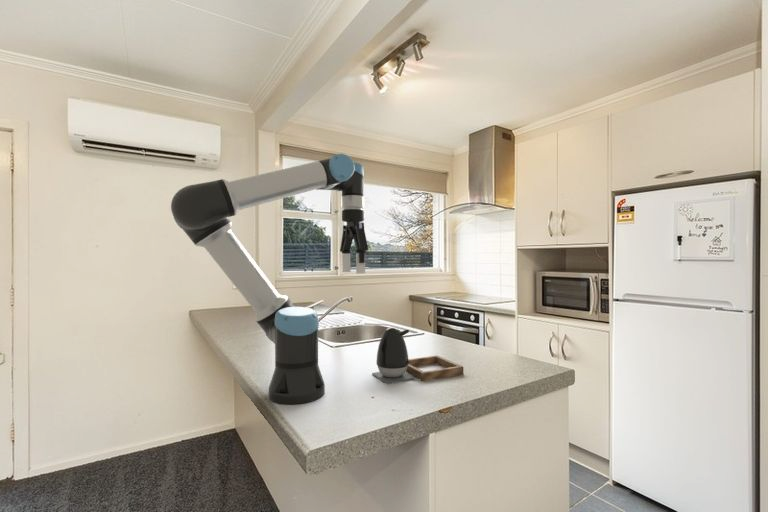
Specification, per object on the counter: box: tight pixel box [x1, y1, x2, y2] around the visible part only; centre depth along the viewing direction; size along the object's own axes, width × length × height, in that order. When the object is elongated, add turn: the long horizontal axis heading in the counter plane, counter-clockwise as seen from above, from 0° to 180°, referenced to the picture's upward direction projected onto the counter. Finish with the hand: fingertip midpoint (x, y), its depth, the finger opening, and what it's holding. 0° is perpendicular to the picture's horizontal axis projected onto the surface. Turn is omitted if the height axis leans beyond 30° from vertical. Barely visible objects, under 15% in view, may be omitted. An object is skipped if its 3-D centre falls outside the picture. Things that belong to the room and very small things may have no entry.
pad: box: [371, 371, 416, 385], centre depth 118 cm, size 10×10×1 cm
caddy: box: [405, 355, 464, 382], centre depth 123 cm, size 15×15×2 cm
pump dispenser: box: [375, 326, 410, 378], centre depth 118 cm, size 10×10×15 cm
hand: (353, 272), depth 125 cm, fingers open, 13 cm apart
